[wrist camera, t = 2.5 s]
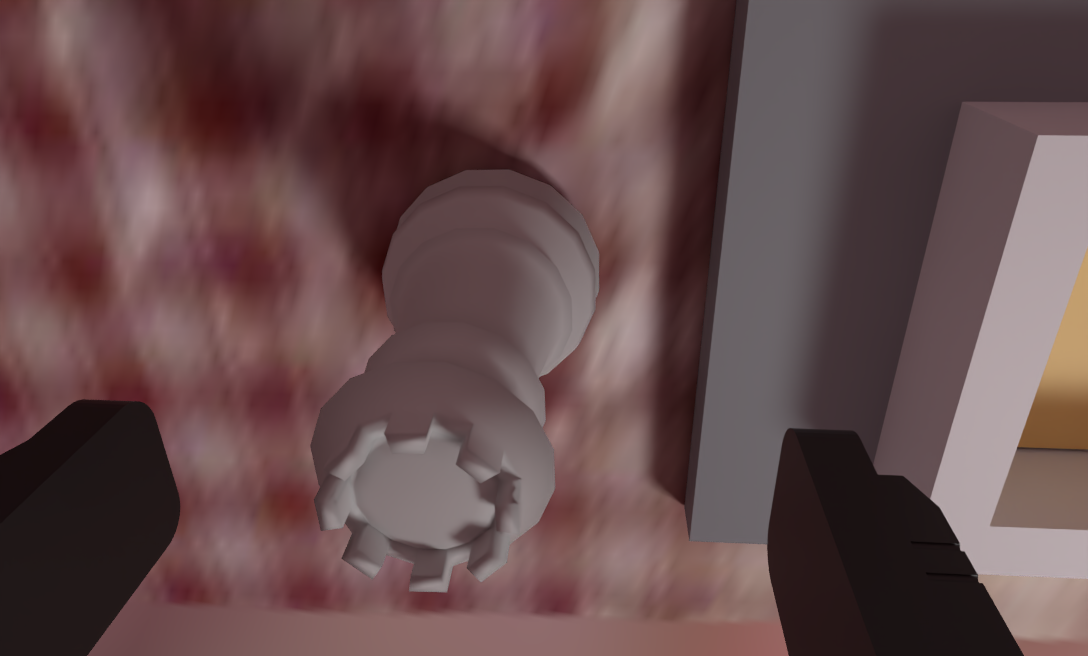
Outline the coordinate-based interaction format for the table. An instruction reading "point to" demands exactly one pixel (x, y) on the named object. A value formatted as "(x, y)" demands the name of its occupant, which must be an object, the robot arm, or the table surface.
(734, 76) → the square frame on plate
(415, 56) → the table surface
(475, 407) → the rook chess piece
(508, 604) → the table surface
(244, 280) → the table surface
